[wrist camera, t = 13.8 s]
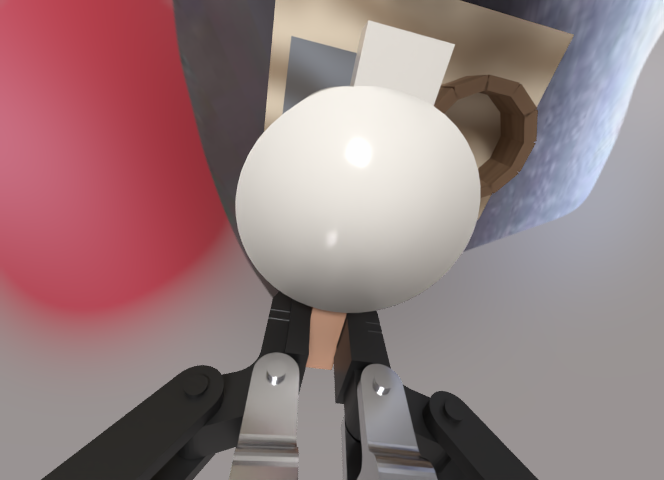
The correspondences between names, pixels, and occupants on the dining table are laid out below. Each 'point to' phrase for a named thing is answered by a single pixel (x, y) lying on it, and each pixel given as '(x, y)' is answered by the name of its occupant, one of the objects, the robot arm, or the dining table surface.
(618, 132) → the dining table surface
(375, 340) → the robot arm
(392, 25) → the serving board
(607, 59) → the dining table surface
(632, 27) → the dining table surface
